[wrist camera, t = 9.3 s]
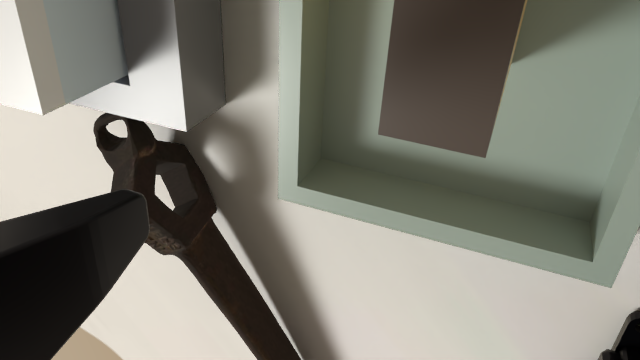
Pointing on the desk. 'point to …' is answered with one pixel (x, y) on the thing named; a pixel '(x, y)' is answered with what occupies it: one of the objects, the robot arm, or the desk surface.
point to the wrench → (191, 229)
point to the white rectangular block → (58, 51)
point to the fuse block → (167, 64)
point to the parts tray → (505, 145)
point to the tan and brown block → (448, 71)
